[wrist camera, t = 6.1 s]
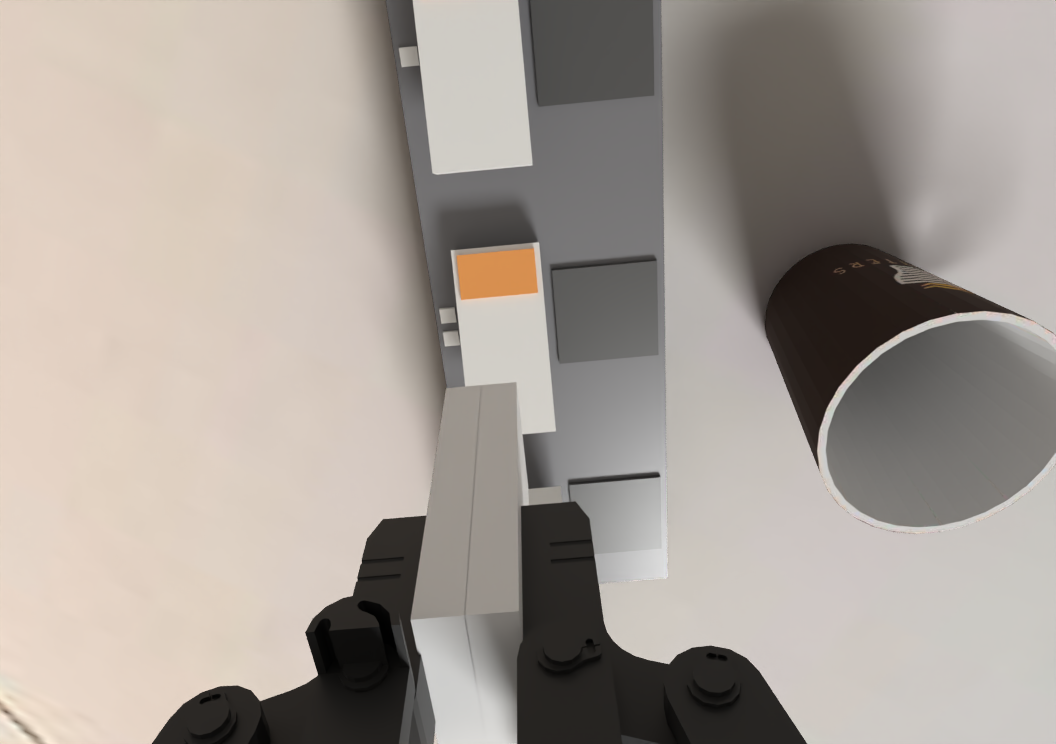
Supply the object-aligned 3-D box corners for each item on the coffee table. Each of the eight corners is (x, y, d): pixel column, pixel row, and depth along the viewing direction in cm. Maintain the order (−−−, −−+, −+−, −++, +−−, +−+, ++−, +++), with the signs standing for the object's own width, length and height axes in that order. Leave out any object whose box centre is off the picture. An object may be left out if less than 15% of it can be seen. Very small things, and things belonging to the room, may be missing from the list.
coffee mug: (699, 329, 35) (763, 452, 26) (845, 176, 32) (972, 257, 23) (871, 460, 39) (978, 607, 30) (1016, 333, 36) (1184, 455, 27)
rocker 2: (454, 250, 30) (450, 250, 28) (538, 242, 29) (539, 241, 28) (473, 431, 31) (470, 439, 29) (555, 424, 31) (555, 432, 29)
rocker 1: (410, -54, 25) (404, -69, 23) (512, -64, 25) (511, -79, 23) (437, 174, 26) (431, 172, 25) (532, 165, 26) (532, 163, 25)
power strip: (388, -74, 28) (368, -80, 24) (642, -100, 28) (664, -111, 24) (498, 656, 44) (497, 723, 40) (657, 643, 44) (672, 709, 40)
